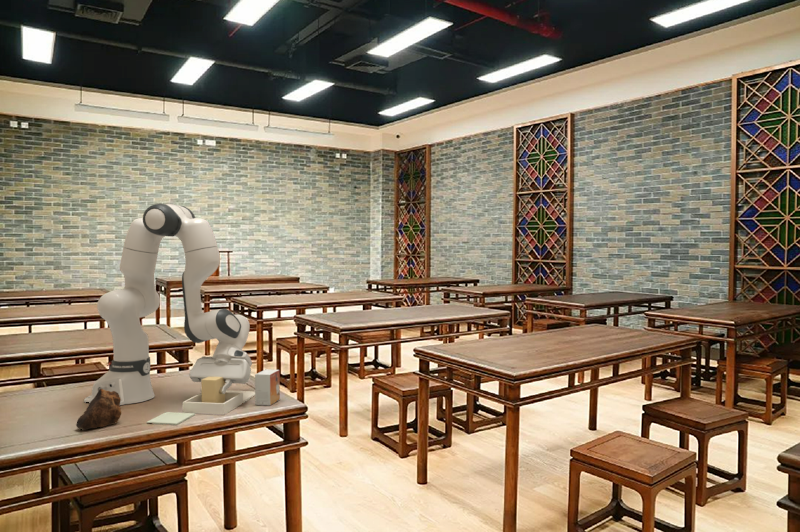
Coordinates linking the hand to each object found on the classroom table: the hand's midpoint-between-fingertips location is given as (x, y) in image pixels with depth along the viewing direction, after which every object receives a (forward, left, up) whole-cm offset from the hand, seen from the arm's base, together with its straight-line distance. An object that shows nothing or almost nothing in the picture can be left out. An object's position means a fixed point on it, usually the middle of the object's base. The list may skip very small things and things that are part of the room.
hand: (212, 392), depth 178 cm
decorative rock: (-24, -21, -5) cm, 33 cm away
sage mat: (-7, -12, -5) cm, 15 cm away
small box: (+15, +10, -5) cm, 19 cm away
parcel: (0, +1, -5) cm, 5 cm away
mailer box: (0, +7, -5) cm, 9 cm away
